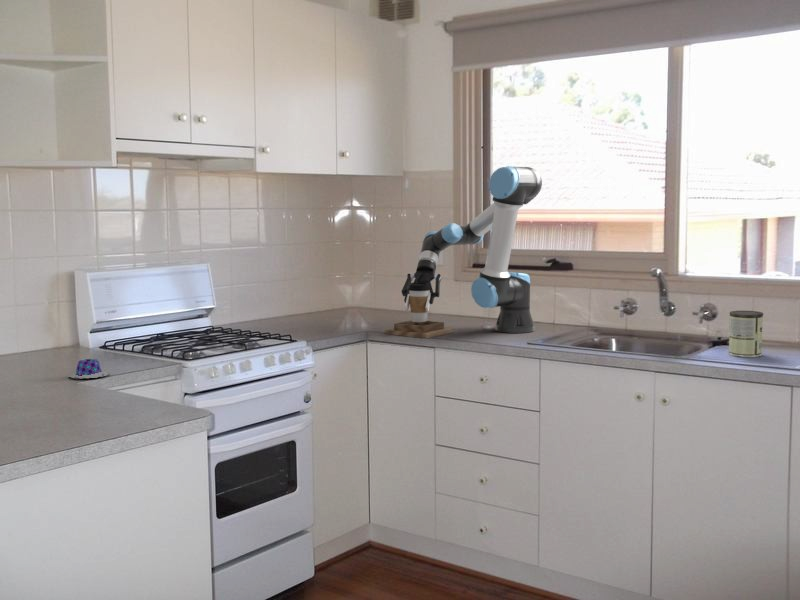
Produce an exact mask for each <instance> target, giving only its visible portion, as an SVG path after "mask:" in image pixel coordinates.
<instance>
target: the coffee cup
mask: <svg viewBox="0 0 800 600" xmlns="http://www.w3.org/2000/svg"><path fill="white" fill-rule="evenodd" d="M413 282H414V281H413ZM413 282H411V283H410V285H409V288H408V290H409V293H410V295H409V299H410V305H409V310H410V317H411V320H412V322H426V321H428V312H427V311H426V308H425V307H426V302H427V298H428V294H429V293H430V288H429V285H428V283H425V282H414V283H413Z"/></svg>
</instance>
